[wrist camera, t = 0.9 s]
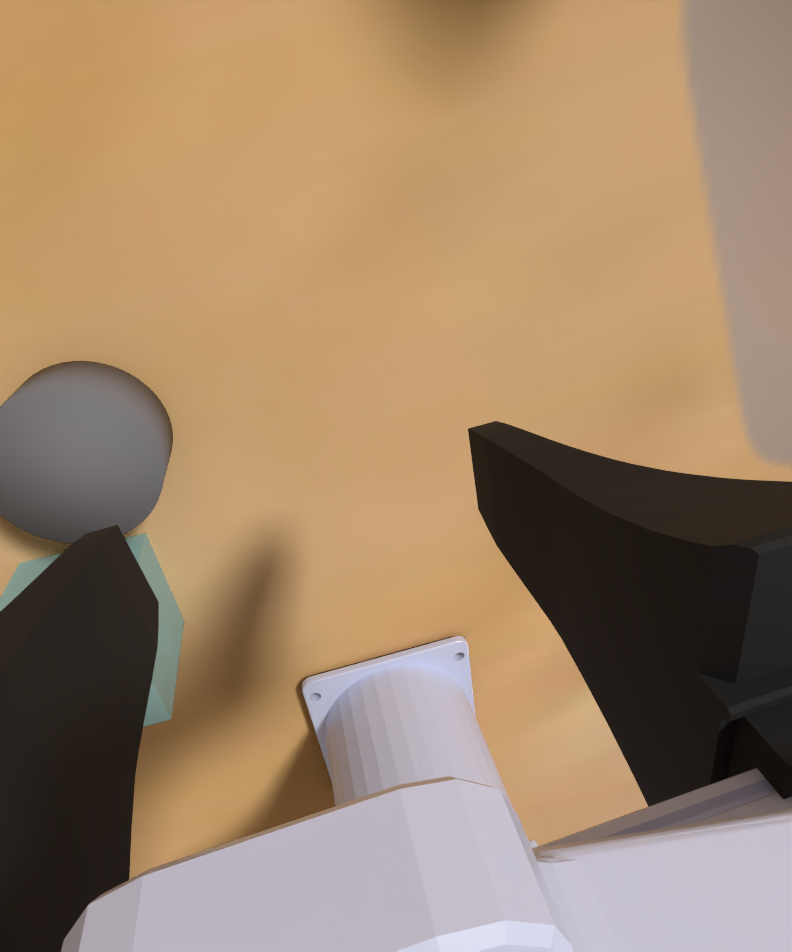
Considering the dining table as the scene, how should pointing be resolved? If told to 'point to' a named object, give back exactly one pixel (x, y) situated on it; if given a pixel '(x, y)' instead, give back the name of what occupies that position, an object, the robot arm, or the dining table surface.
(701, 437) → the dining table surface
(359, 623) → the dining table surface
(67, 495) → the puck
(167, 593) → the block
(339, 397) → the dining table surface
